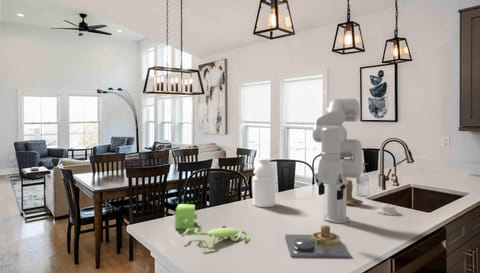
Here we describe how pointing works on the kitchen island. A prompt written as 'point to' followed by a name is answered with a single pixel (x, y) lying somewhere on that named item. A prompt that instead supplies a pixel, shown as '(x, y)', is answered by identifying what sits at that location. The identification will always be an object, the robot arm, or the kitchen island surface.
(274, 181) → the bottle
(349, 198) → the brown upright piece
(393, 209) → the mechanical component
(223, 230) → the figurine
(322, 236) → the planet gear
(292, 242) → the carrier plate
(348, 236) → the kitchen island surface
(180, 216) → the gearbox
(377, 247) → the kitchen island surface
